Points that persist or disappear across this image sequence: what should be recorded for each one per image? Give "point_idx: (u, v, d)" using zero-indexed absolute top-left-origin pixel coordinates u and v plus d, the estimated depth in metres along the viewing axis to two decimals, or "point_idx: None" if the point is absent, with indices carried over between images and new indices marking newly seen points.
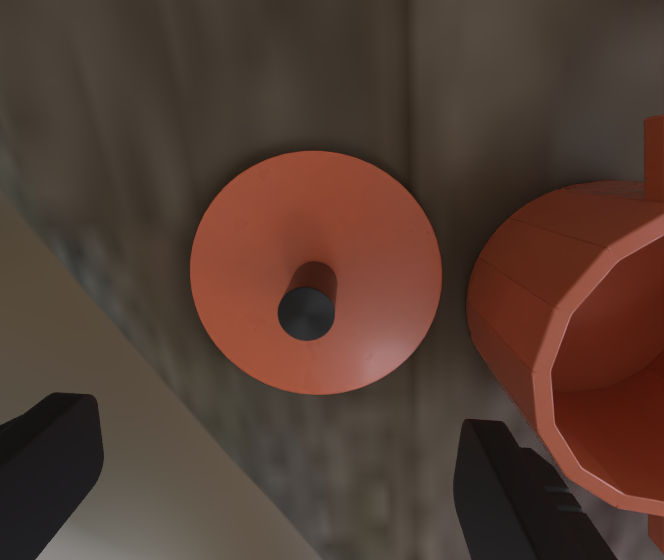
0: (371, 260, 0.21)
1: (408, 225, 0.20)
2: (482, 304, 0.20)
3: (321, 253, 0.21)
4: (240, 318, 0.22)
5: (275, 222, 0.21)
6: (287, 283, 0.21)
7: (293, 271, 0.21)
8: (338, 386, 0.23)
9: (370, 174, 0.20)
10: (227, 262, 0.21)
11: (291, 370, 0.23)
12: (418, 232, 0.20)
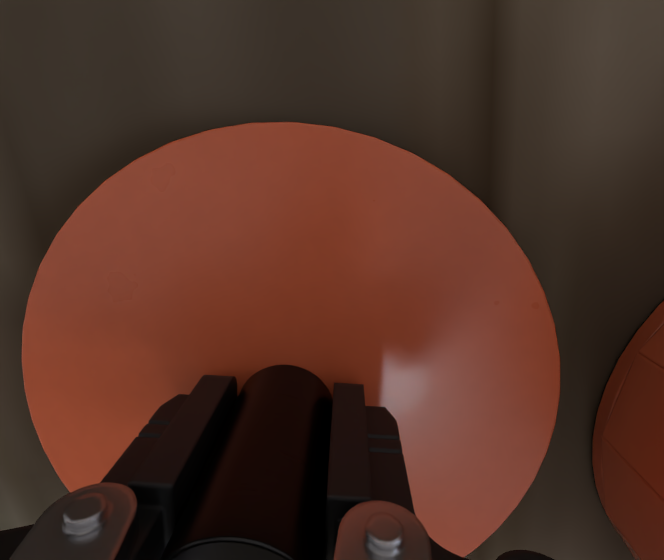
0: (407, 363, 0.10)
1: (492, 290, 0.09)
2: None
3: (299, 349, 0.10)
4: None
5: (195, 284, 0.09)
6: None
7: (240, 384, 0.10)
8: None
9: (407, 175, 0.08)
10: (99, 365, 0.10)
11: None
12: (514, 305, 0.09)
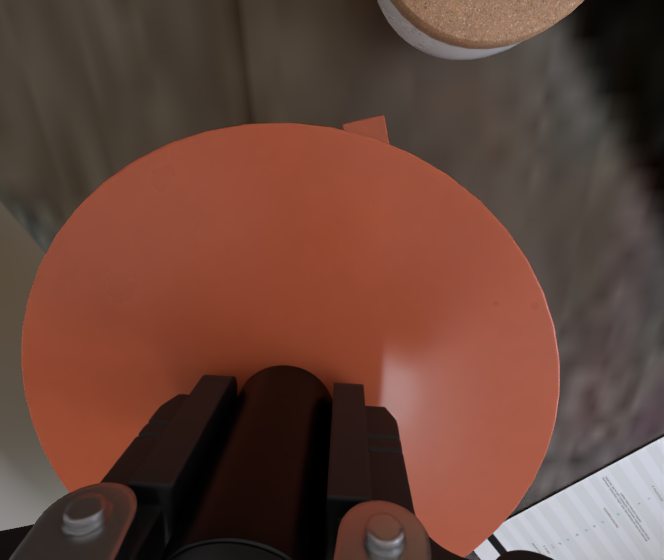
0: (407, 363, 0.10)
1: (491, 291, 0.09)
2: None
3: (299, 350, 0.10)
4: None
5: (195, 284, 0.09)
6: None
7: (239, 384, 0.10)
8: None
9: (407, 176, 0.08)
10: (99, 366, 0.10)
11: None
12: (514, 305, 0.09)
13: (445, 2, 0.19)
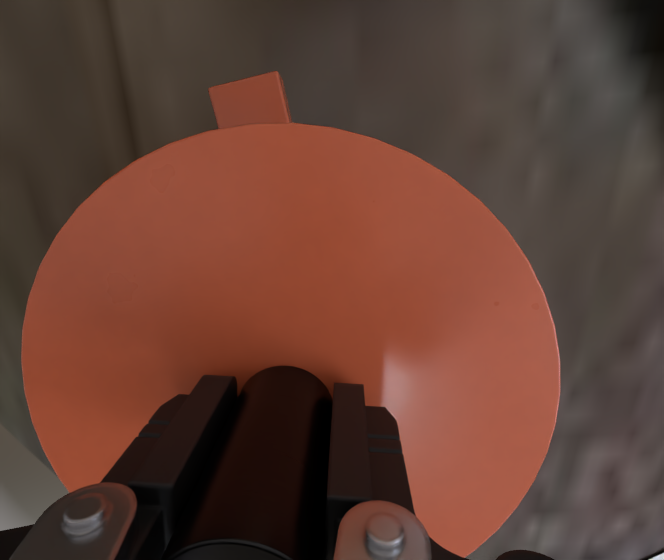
0: (407, 364, 0.10)
1: (492, 291, 0.09)
2: None
3: (299, 350, 0.10)
4: None
5: (195, 284, 0.09)
6: None
7: (240, 385, 0.10)
8: None
9: (407, 177, 0.08)
10: (99, 366, 0.10)
11: None
12: (515, 305, 0.09)
13: None
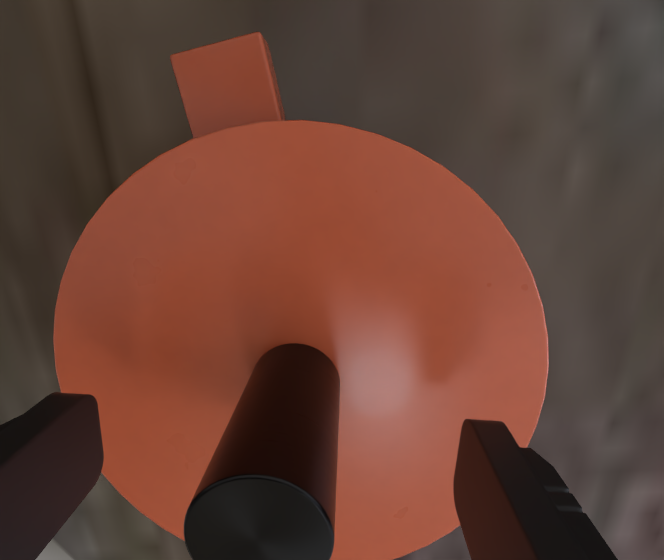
0: (407, 341, 0.10)
1: (484, 273, 0.10)
2: None
3: (308, 329, 0.10)
4: (157, 444, 0.12)
5: (214, 268, 0.10)
6: (243, 383, 0.11)
7: (253, 361, 0.11)
8: (343, 559, 0.13)
9: (407, 168, 0.09)
10: (124, 345, 0.11)
11: None
12: (505, 286, 0.10)
13: None
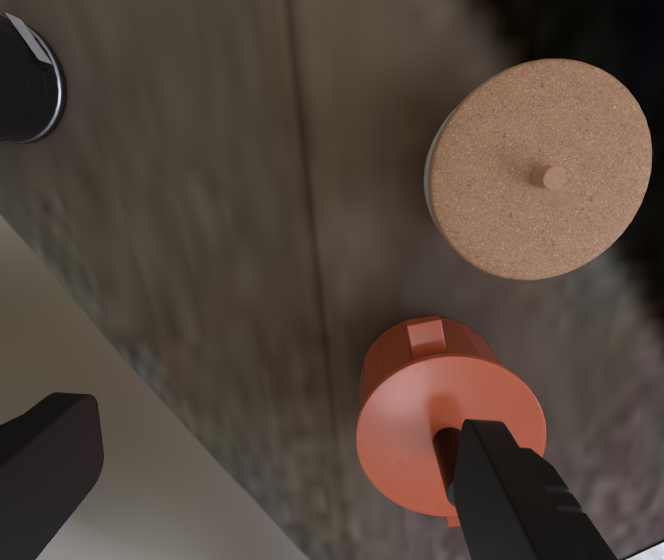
0: None
1: (522, 404, 0.28)
2: (360, 389, 0.35)
3: (456, 422, 0.28)
4: (391, 464, 0.30)
5: (422, 401, 0.28)
6: (428, 441, 0.29)
7: (433, 433, 0.29)
8: None
9: (495, 371, 0.27)
10: (384, 427, 0.29)
11: (427, 499, 0.30)
12: (529, 408, 0.28)
13: (493, 254, 0.25)
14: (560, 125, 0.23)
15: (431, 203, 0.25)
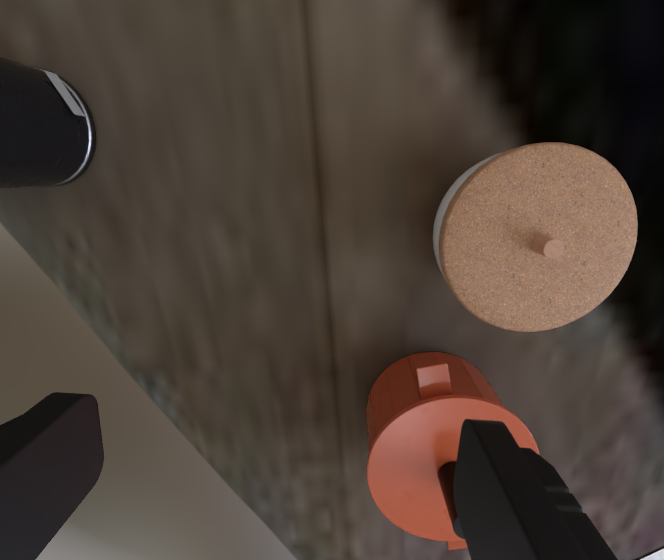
0: None
1: (519, 441, 0.30)
2: (368, 419, 0.38)
3: None
4: (399, 494, 0.32)
5: (429, 438, 0.31)
6: (434, 473, 0.32)
7: (438, 466, 0.31)
8: None
9: (496, 411, 0.30)
10: (394, 461, 0.31)
11: (431, 526, 0.33)
12: (526, 445, 0.31)
13: (497, 309, 0.27)
14: (558, 200, 0.25)
15: (442, 263, 0.27)
